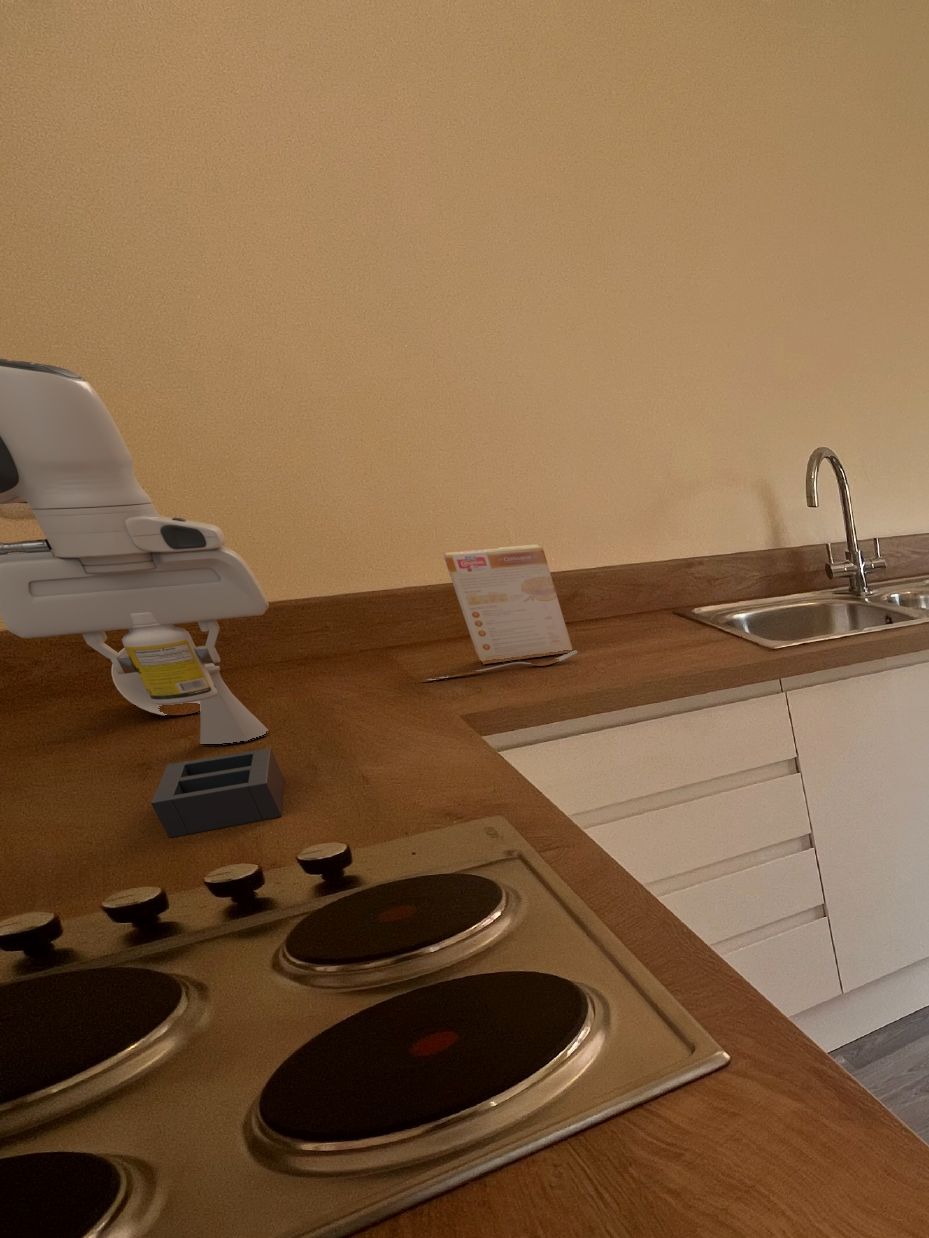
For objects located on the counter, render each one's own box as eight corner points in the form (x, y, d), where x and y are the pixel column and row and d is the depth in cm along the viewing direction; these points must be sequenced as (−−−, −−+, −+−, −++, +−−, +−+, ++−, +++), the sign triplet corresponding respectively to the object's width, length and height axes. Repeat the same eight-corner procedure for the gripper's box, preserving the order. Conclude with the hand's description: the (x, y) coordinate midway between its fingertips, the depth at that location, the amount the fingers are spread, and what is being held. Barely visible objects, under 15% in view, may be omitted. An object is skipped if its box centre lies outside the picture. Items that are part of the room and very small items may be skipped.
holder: (168, 838, 101) (150, 802, 99) (183, 796, 113) (167, 764, 111) (281, 816, 106) (266, 782, 104) (284, 778, 118) (270, 747, 116)
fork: (420, 680, 164) (416, 670, 163) (578, 658, 178) (575, 649, 177) (422, 684, 161) (418, 673, 161) (582, 661, 175) (579, 652, 175)
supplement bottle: (169, 696, 108) (126, 608, 104) (228, 691, 110) (188, 604, 106) (142, 708, 104) (96, 616, 99) (204, 702, 105) (161, 612, 101)
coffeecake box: (567, 648, 187) (537, 543, 178) (574, 653, 182) (543, 546, 173) (477, 659, 178) (441, 550, 170) (482, 666, 173) (444, 553, 165)
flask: (219, 734, 136) (186, 664, 131) (280, 729, 138) (249, 660, 133) (189, 749, 129) (153, 676, 125) (253, 743, 131) (220, 672, 127)
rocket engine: (105, 639, 150) (132, 623, 140) (202, 675, 159) (234, 662, 150) (70, 705, 147) (95, 694, 137) (171, 737, 156) (202, 729, 147)
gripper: (-49, 547, 91) (29, 689, 97) (234, 529, 103) (289, 657, 109) (-33, 541, 96) (41, 678, 102) (237, 525, 107) (289, 649, 113)
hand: (171, 667), depth 105 cm, fingers closed on supplement bottle, 5 cm apart
